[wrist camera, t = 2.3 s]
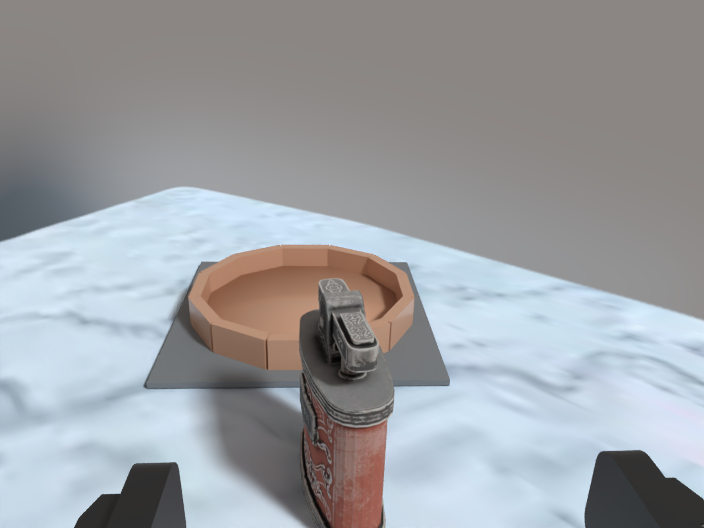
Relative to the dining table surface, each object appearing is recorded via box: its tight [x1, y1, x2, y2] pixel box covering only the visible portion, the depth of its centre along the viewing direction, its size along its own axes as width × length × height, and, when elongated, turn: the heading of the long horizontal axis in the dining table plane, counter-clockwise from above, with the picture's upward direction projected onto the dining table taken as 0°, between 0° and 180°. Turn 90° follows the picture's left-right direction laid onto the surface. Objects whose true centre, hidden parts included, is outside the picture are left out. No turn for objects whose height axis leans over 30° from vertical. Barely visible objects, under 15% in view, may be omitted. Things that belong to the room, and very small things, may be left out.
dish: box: [188, 245, 415, 370], centre depth 42 cm, size 16×16×2 cm
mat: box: [146, 262, 450, 389], centre depth 43 cm, size 18×18×1 cm
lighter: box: [299, 278, 394, 528], centre depth 25 cm, size 8×3×10 cm, turn 14°
